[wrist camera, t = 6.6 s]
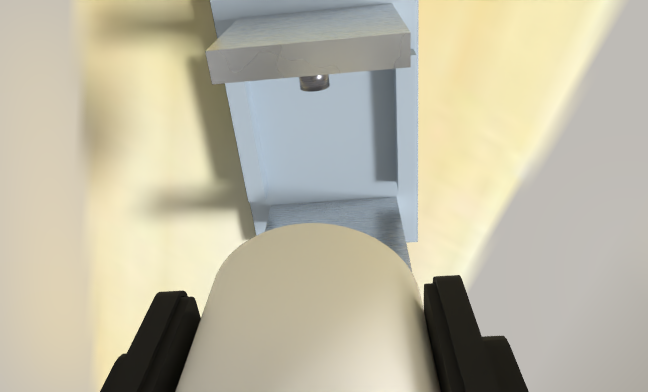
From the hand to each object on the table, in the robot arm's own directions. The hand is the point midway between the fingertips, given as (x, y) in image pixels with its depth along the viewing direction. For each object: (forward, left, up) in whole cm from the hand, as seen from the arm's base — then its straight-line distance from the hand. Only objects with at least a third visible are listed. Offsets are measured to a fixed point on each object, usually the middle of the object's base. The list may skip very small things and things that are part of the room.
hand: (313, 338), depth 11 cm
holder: (0, 0, -13) cm, 13 cm away
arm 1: (-5, 0, -12) cm, 13 cm away
